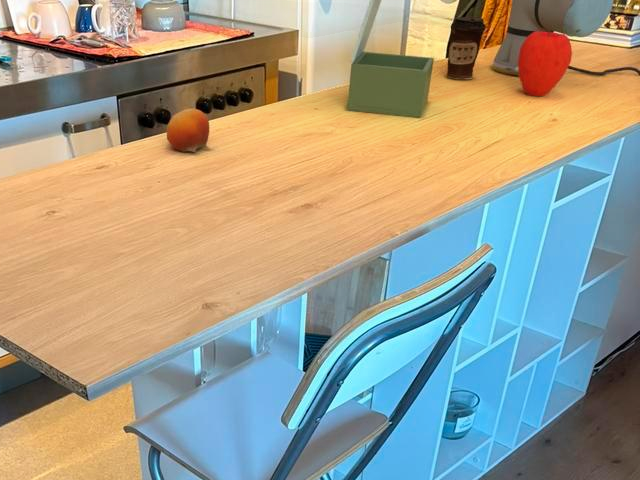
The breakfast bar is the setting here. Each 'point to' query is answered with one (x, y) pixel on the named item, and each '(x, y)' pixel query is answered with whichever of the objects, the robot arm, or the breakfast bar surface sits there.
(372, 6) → the pale blue box lid
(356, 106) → the green storage bin
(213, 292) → the breakfast bar surface
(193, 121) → the fruit
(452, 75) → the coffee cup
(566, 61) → the apple
